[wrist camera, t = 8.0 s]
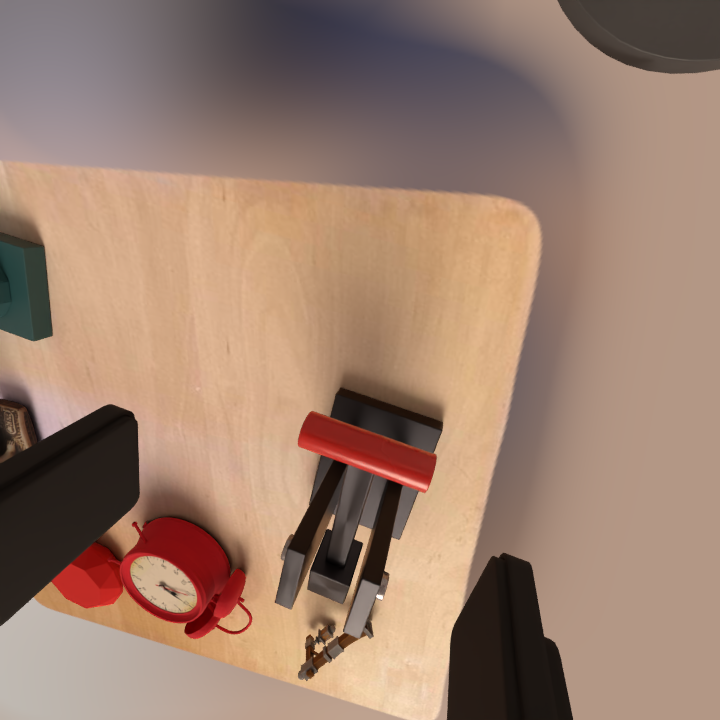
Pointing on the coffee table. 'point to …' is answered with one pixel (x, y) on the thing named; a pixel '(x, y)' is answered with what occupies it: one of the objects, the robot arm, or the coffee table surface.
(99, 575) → the gemstone
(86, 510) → the robot arm
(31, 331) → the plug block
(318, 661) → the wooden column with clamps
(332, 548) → the red handled lever
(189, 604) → the alarm clock
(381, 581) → the black lever base
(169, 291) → the coffee table surface
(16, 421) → the statue
